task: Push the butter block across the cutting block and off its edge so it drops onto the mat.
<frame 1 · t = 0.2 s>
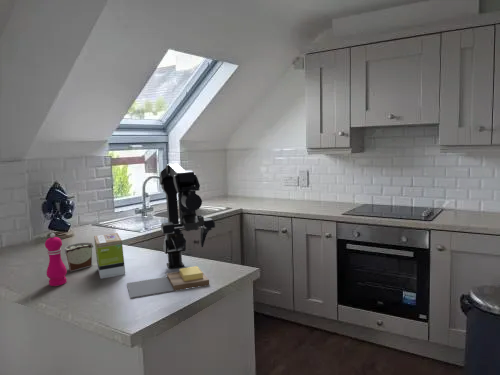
hand: (189, 248, 158), 14 cm above the table, fingers open, 9 cm apart
cutting block: (187, 281, 164), on the table
tea box: (111, 272, 181), on the table
mat: (149, 287, 159), on the table
food container: (78, 267, 190), on the table
butter block: (190, 273, 164), point 3 cm above the table, touching cutting block
pepper mill: (58, 283, 170), on the table
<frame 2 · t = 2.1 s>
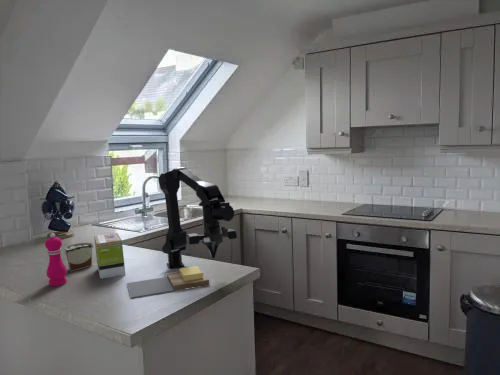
hand: (213, 258, 167), 8 cm above the table, fingers closed
nothing on the table moved.
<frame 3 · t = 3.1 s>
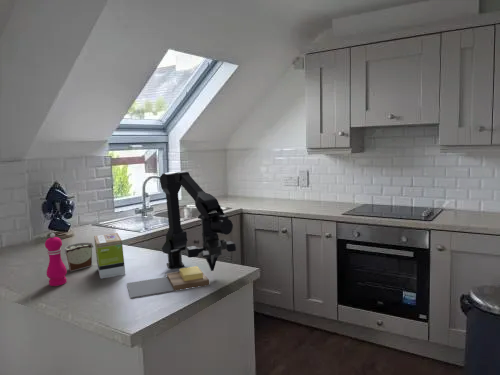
hand: (212, 270, 167), 3 cm above the table, fingers closed
nothing on the table moved.
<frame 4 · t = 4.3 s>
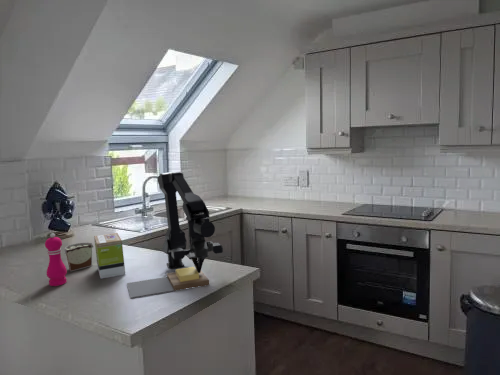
hand: (198, 272, 165), 3 cm above the table, fingers closed
butter block: (187, 273, 164), point 3 cm above the table, touching cutting block, gripper
everything else where it was.
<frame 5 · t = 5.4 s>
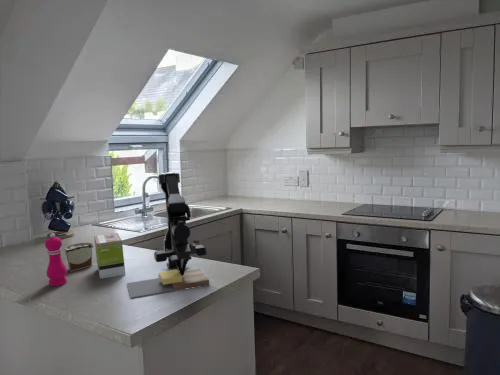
hand: (182, 275, 163), 3 cm above the table, fingers closed
butter block: (170, 276, 161), point 3 cm above the table, touching gripper
everything else where it was.
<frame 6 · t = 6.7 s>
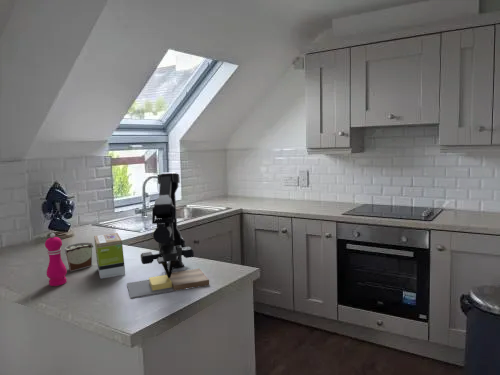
hand: (169, 277, 161), 3 cm above the table, fingers closed
butter block: (160, 282, 160), point 1 cm above the table, touching mat
everything else where it was.
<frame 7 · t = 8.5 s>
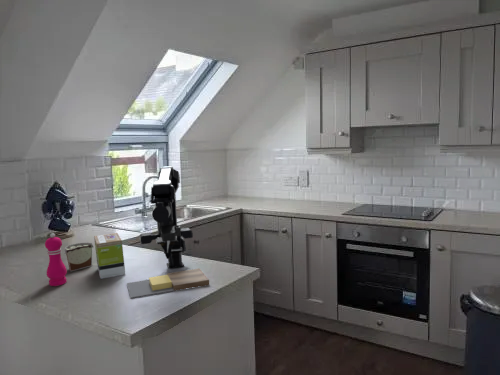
hand: (167, 258, 161), 10 cm above the table, fingers closed
nothing on the table moved.
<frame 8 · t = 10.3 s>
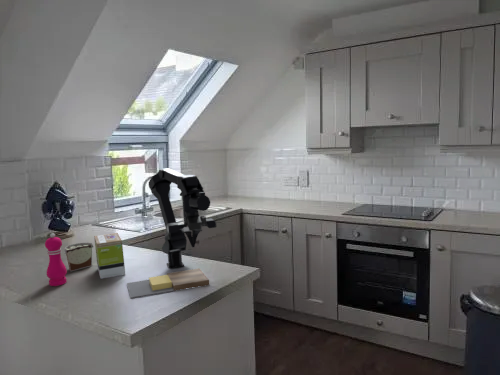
hand: (193, 246, 171), 11 cm above the table, fingers closed
nothing on the table moved.
at the end: butter block inside the target area (3.6 cm from its centre), point 1.5 cm above the table; butter block moved 11.8 cm from its start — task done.
